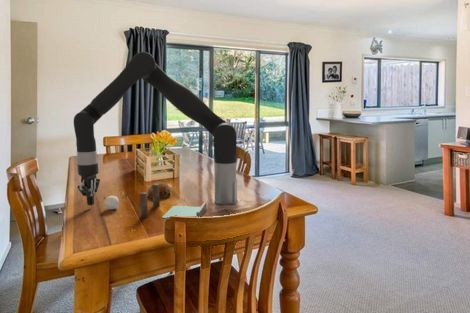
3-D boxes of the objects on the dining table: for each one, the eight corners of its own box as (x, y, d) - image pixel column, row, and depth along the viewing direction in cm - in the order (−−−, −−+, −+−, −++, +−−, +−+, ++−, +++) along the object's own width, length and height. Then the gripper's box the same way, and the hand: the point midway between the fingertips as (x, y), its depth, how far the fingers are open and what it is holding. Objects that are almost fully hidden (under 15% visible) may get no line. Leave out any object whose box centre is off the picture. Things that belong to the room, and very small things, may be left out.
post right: (160, 205, 146) (159, 184, 144) (158, 207, 144) (157, 185, 142) (154, 204, 146) (153, 183, 145) (152, 206, 144) (151, 185, 142)
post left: (148, 215, 134) (147, 192, 132) (146, 217, 131) (145, 194, 130) (142, 215, 134) (141, 192, 133) (139, 217, 132) (138, 194, 130)
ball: (122, 207, 143) (121, 194, 142) (115, 211, 138) (114, 198, 137) (109, 206, 144) (108, 193, 143) (102, 211, 139) (101, 197, 138)
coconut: (164, 199, 166) (159, 183, 167) (177, 194, 160) (171, 177, 161) (147, 204, 159) (141, 188, 160) (160, 199, 152) (154, 181, 153)
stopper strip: (206, 208, 142) (206, 202, 141) (199, 218, 130) (199, 212, 130) (204, 208, 142) (203, 202, 141) (196, 218, 130) (196, 212, 130)
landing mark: (207, 207, 143) (207, 207, 143) (198, 219, 129) (198, 219, 129) (173, 206, 145) (173, 205, 145) (161, 218, 131) (161, 217, 131)
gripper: (87, 166, 132) (90, 210, 135) (105, 159, 145) (107, 200, 148) (68, 165, 133) (72, 209, 136) (88, 159, 146) (91, 199, 149)
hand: (90, 204), depth 142 cm, fingers closed
